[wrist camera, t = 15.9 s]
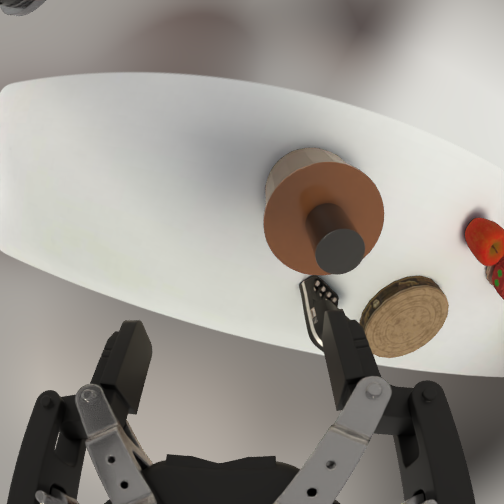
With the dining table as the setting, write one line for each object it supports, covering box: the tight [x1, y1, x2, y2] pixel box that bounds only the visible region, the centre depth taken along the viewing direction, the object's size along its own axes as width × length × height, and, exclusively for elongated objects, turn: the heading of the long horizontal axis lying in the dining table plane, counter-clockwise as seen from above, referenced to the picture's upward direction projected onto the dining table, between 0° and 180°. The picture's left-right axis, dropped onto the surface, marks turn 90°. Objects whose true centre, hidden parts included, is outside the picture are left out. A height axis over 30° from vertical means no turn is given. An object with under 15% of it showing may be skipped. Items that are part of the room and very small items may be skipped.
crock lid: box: [263, 160, 384, 275], centre depth 26 cm, size 12×12×7 cm
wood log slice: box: [360, 276, 449, 358], centre depth 45 cm, size 16×16×3 cm
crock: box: [265, 148, 347, 203], centre depth 32 cm, size 11×11×8 cm
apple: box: [465, 218, 504, 266], centre depth 35 cm, size 6×6×8 cm
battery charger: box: [299, 276, 350, 352], centre depth 39 cm, size 7×4×11 cm, turn 44°
